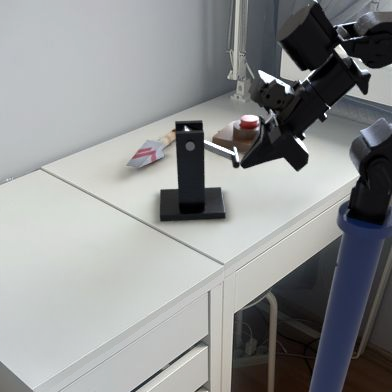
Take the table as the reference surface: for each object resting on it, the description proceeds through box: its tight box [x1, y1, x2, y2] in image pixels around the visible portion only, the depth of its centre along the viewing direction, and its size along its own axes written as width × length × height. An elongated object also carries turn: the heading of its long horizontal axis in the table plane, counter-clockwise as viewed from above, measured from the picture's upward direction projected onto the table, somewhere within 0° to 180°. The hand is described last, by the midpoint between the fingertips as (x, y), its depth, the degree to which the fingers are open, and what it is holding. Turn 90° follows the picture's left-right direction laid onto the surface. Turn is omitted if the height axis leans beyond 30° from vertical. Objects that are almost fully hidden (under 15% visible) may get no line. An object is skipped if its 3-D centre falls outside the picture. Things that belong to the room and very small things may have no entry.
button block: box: [211, 119, 259, 153], centre depth 106 cm, size 12×10×4 cm
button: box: [240, 114, 259, 129], centre depth 104 cm, size 4×4×2 cm
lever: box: [182, 125, 241, 169], centre depth 81 cm, size 10×6×2 cm, turn 92°
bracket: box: [159, 119, 226, 222], centre depth 83 cm, size 11×9×14 cm
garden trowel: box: [125, 127, 176, 169], centre depth 103 cm, size 4×3×20 cm
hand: (241, 166), depth 83 cm, fingers closed
